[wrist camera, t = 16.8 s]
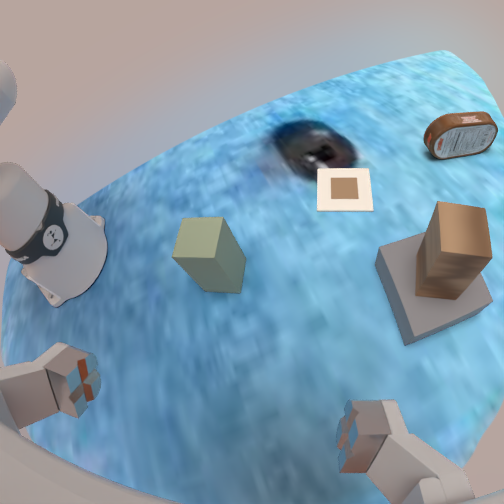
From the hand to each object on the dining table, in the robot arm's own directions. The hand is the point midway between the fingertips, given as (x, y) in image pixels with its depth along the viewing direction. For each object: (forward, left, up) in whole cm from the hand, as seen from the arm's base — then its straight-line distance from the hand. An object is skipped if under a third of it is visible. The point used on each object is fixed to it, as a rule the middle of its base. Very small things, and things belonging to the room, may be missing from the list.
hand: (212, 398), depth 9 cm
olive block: (-15, +13, -27) cm, 33 cm away
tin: (+15, +44, -27) cm, 54 cm away
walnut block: (+11, +17, -23) cm, 30 cm away
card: (-3, +30, -27) cm, 41 cm away
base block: (+11, +18, -28) cm, 35 cm away
